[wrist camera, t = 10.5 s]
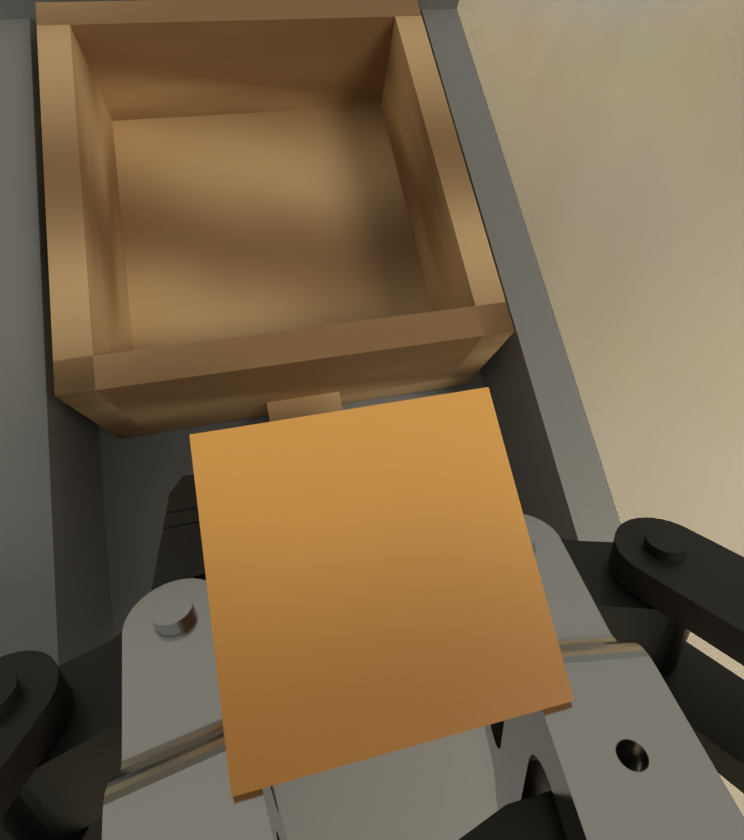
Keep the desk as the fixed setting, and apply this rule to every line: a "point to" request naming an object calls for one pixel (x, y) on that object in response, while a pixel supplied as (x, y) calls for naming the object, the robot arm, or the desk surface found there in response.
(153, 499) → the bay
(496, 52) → the desk surface
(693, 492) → the desk surface
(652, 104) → the desk surface
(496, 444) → the crate
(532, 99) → the desk surface
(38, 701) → the robot arm
